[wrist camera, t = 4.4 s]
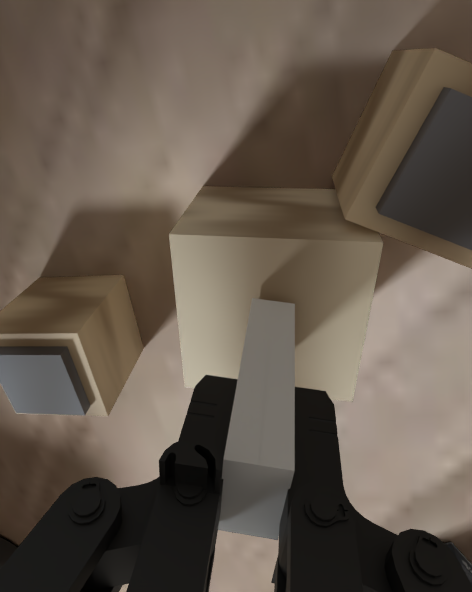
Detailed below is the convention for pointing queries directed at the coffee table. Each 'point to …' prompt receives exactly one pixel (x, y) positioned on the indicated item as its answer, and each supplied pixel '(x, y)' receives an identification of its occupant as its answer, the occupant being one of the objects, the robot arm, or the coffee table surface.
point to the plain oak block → (273, 280)
